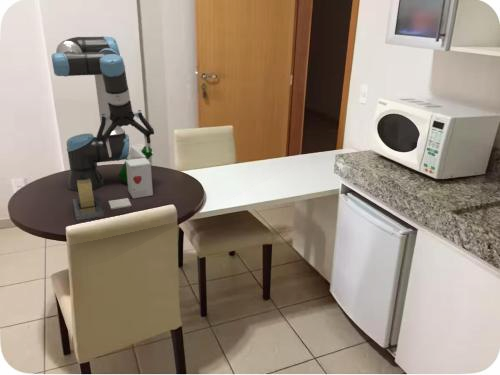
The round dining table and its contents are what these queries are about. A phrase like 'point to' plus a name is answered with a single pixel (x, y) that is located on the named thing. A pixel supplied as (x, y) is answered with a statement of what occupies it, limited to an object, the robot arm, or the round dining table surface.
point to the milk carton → (135, 157)
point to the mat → (119, 203)
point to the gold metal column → (85, 193)
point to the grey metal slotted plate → (88, 209)
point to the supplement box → (139, 177)
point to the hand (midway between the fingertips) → (129, 152)
